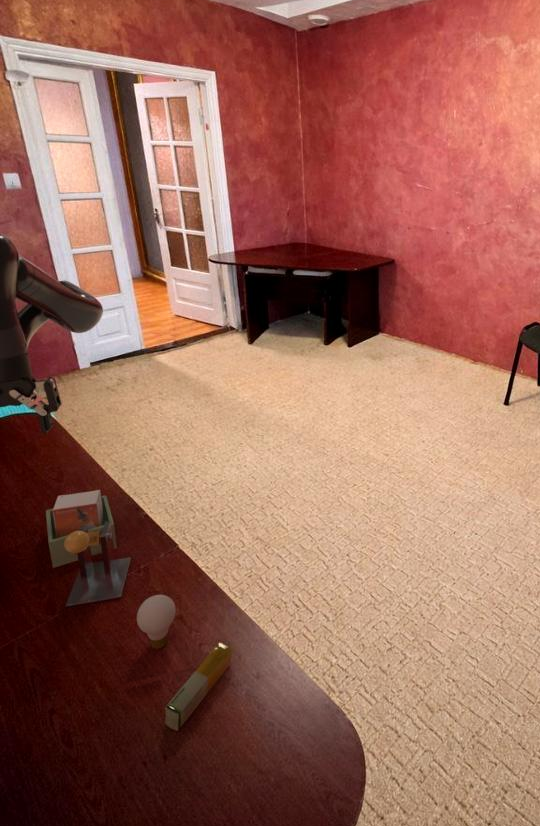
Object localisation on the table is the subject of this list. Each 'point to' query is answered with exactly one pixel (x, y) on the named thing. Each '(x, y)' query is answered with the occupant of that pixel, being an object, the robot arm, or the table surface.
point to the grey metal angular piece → (99, 573)
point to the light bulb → (156, 619)
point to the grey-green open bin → (57, 544)
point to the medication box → (197, 686)
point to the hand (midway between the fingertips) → (18, 434)
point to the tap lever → (81, 541)
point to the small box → (77, 512)
